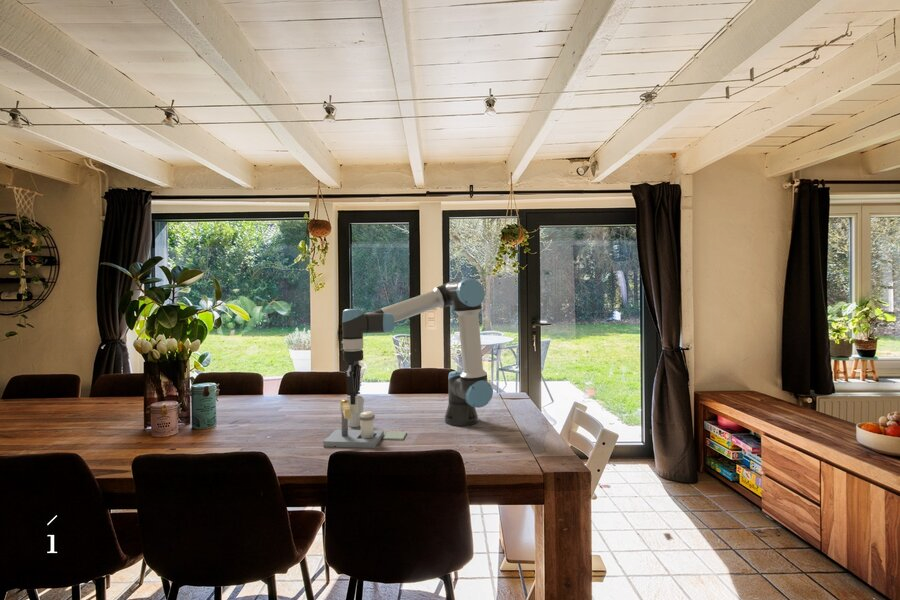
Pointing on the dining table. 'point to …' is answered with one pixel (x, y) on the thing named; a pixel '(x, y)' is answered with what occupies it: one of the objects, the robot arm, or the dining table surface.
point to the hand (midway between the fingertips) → (354, 412)
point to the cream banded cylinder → (367, 425)
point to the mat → (394, 435)
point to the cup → (354, 419)
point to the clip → (345, 408)
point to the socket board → (351, 437)
